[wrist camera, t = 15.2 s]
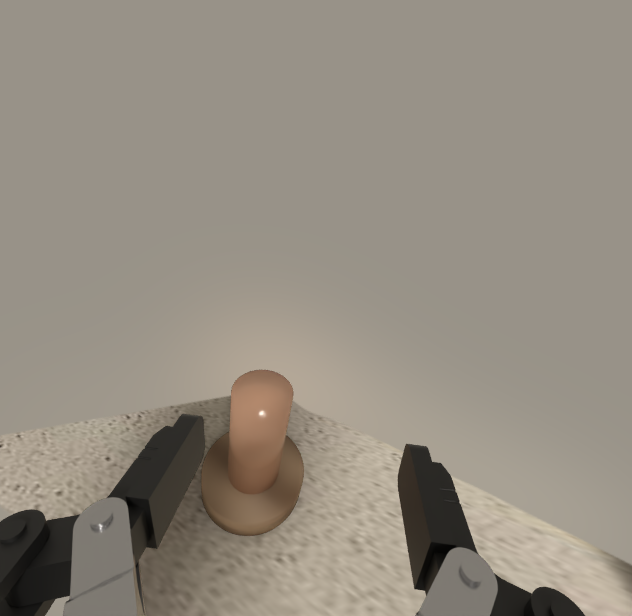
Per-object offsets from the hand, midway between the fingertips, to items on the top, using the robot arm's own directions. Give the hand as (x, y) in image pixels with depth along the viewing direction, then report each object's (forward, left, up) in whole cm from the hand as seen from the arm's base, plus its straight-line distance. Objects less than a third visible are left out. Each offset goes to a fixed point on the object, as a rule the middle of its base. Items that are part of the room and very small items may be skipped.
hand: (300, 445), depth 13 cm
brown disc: (-1, -11, -23) cm, 25 cm away
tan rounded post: (-1, -11, -20) cm, 23 cm away
